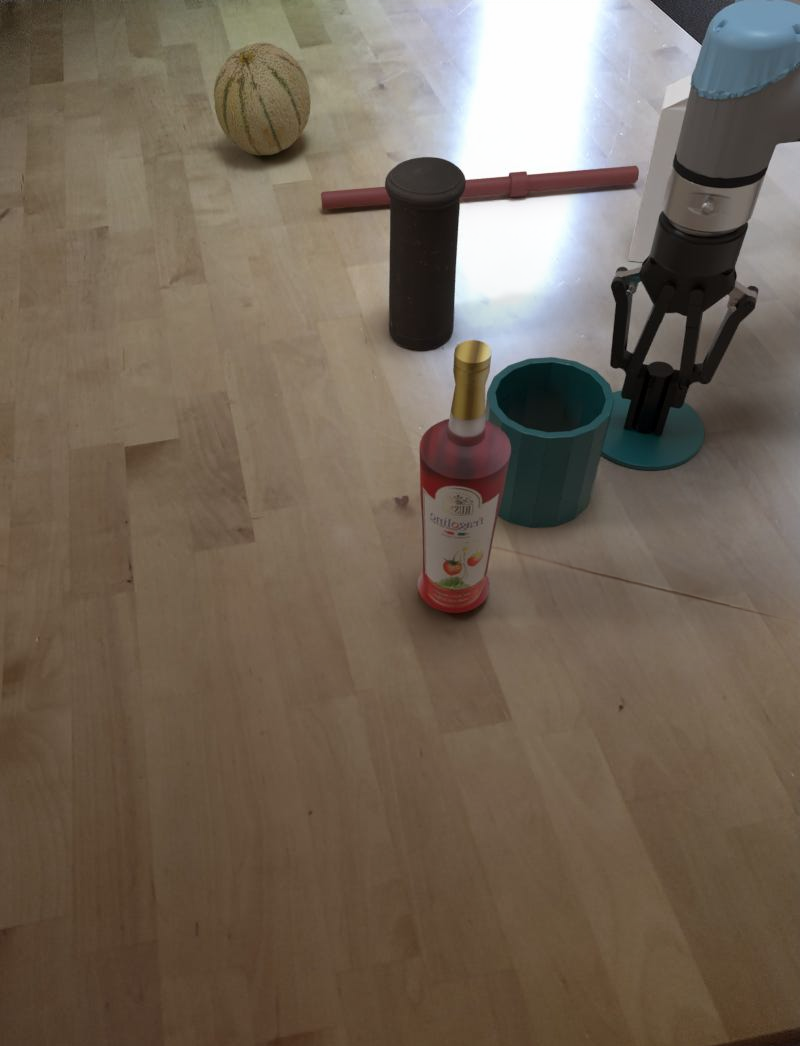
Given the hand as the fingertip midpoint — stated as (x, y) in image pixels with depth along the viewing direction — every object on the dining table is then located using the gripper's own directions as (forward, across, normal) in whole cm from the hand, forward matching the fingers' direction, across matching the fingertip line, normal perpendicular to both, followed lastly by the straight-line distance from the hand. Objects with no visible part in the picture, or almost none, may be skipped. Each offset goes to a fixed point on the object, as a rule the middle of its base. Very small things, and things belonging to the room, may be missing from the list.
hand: (644, 423), depth 97 cm
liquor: (+2, -13, -28) cm, 31 cm away
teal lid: (+1, 0, 0) cm, 1 cm away
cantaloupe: (+2, -67, +49) cm, 83 cm away
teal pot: (+2, -9, -12) cm, 15 cm away
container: (+2, -29, +11) cm, 31 cm away
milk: (+2, -5, +36) cm, 36 cm away
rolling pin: (+2, -31, +43) cm, 53 cm away
